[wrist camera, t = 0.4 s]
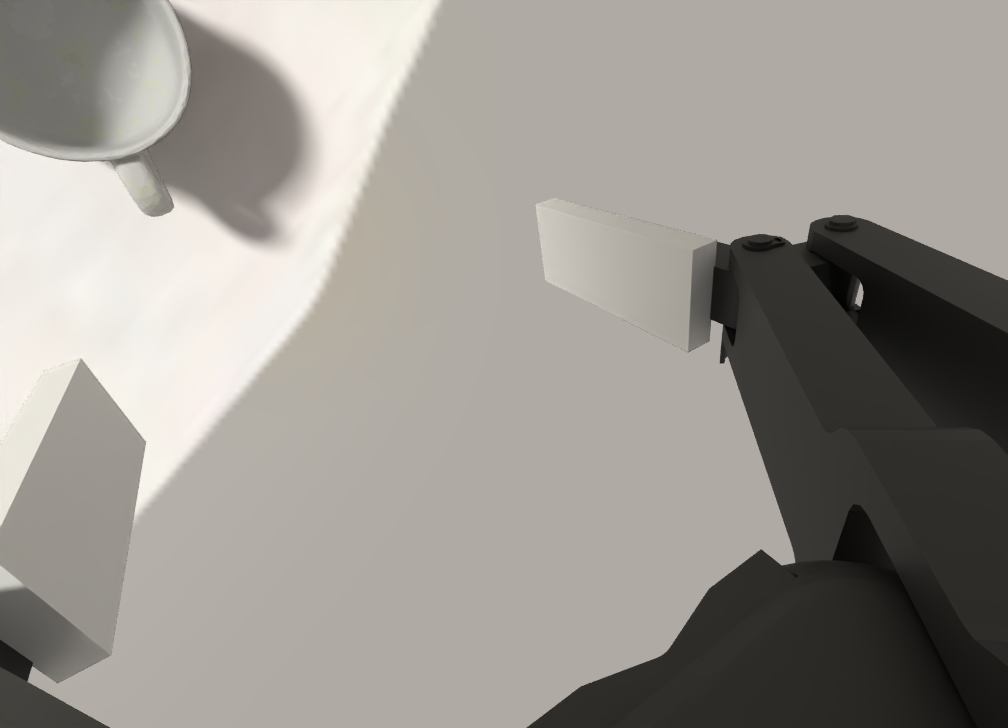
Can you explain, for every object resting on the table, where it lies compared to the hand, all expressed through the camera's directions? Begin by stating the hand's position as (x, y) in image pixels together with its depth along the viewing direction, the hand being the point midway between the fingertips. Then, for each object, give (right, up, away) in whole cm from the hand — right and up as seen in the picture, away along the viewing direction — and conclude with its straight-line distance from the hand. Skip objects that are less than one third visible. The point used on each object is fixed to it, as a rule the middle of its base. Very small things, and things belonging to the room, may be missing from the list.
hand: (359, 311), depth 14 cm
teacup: (-20, +15, +15) cm, 30 cm away
